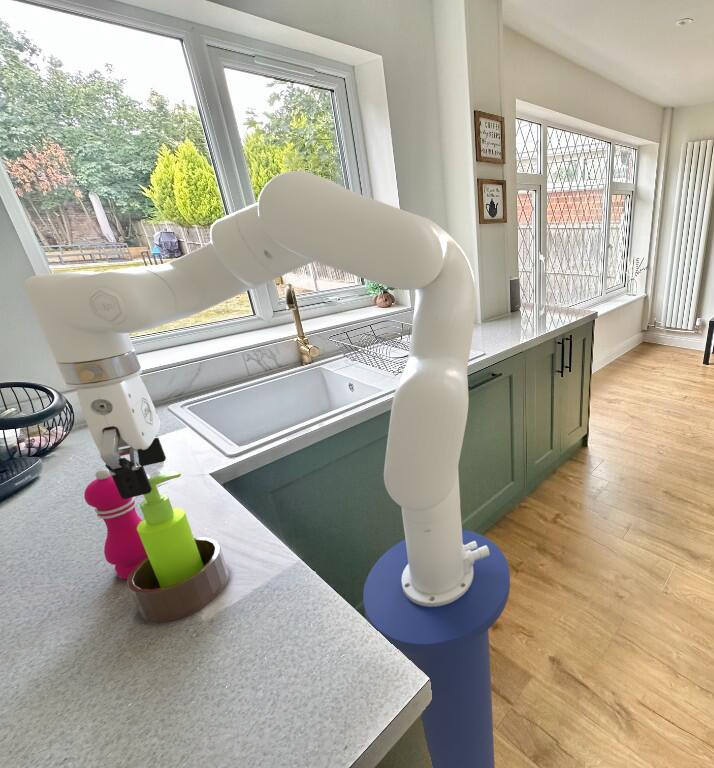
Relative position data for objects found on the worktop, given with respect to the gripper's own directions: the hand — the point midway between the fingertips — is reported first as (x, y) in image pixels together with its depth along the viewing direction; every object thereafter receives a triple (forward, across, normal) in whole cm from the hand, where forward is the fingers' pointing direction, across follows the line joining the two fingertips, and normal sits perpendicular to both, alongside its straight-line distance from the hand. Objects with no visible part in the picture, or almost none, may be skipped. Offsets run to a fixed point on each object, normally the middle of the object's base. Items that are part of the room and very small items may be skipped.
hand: (146, 478), depth 61 cm
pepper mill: (+22, +11, +9) cm, 26 cm away
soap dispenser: (+21, +1, 0) cm, 21 cm away
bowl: (+22, 0, +1) cm, 22 cm away
